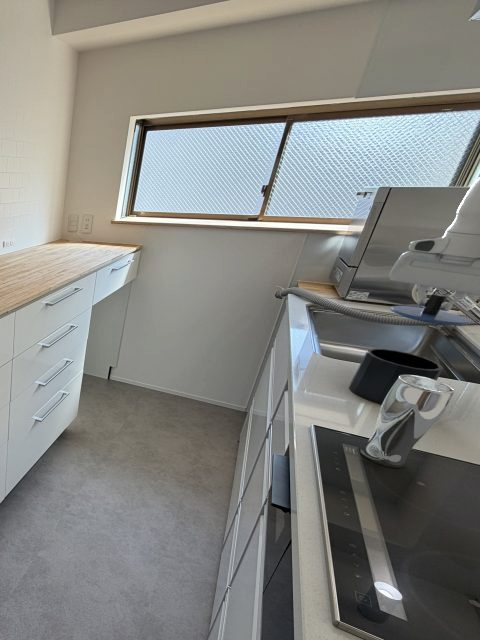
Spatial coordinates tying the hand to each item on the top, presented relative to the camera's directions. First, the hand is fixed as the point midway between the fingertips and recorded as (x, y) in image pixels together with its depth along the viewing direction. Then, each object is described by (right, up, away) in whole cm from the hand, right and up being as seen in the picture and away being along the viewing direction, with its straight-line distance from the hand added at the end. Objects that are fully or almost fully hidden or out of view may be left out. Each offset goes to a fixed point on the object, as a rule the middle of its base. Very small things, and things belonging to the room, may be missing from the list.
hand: (432, 307), depth 98 cm
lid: (0, -2, +1) cm, 2 cm away
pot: (-13, -21, -2) cm, 25 cm away
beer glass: (-37, -31, -24) cm, 54 cm away
